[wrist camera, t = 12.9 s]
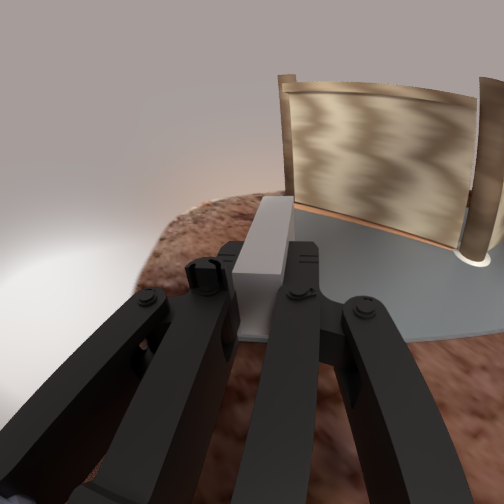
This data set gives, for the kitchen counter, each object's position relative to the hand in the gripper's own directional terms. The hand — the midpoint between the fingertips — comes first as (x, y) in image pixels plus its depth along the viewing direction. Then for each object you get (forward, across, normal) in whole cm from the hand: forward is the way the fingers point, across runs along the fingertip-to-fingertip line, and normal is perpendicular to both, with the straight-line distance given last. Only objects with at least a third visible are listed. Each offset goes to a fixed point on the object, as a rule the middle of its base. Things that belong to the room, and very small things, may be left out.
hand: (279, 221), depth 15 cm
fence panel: (+15, +8, -7) cm, 18 cm away
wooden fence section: (+12, +23, -7) cm, 27 cm away
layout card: (+10, +13, -7) cm, 18 cm away
